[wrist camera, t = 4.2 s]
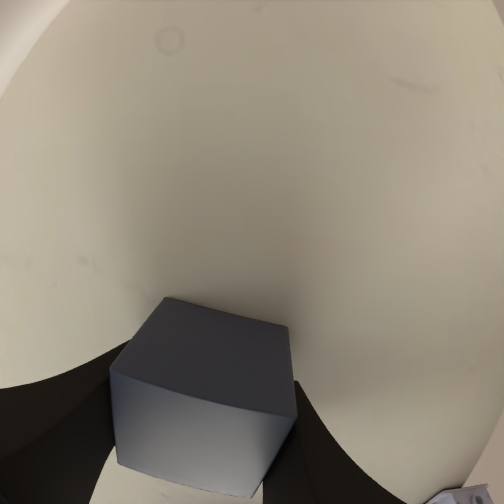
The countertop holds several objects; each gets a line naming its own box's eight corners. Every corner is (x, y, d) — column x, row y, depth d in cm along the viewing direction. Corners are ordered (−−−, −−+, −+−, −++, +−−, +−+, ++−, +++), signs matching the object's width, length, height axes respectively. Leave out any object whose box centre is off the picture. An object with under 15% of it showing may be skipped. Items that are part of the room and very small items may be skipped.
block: (164, 295, 10) (108, 366, 6) (288, 326, 10) (299, 416, 6) (154, 387, 11) (116, 464, 7) (257, 413, 11) (252, 499, 7)
